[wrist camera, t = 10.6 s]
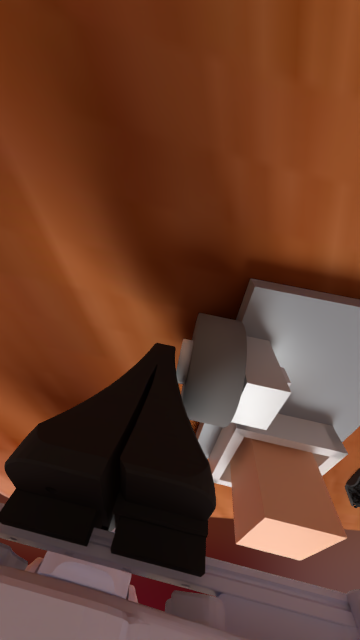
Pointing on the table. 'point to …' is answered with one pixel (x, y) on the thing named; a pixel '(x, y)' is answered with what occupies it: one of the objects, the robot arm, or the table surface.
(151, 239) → the table surface
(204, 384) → the wheel
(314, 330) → the chassis
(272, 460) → the tan rectangular block
